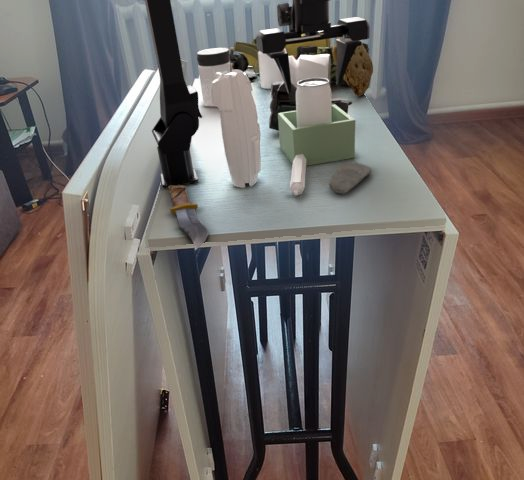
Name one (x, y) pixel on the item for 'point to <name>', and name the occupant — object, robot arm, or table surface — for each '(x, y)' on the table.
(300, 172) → the marker
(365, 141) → the table surface
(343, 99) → the pen
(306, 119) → the can
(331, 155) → the bin
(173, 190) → the knife
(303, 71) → the vase
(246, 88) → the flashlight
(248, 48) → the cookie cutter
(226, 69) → the jar
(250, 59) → the toy
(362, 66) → the pastry
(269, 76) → the pill bottle
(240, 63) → the toy
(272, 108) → the cat figurine
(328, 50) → the toy car
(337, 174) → the stone
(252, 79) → the pen
